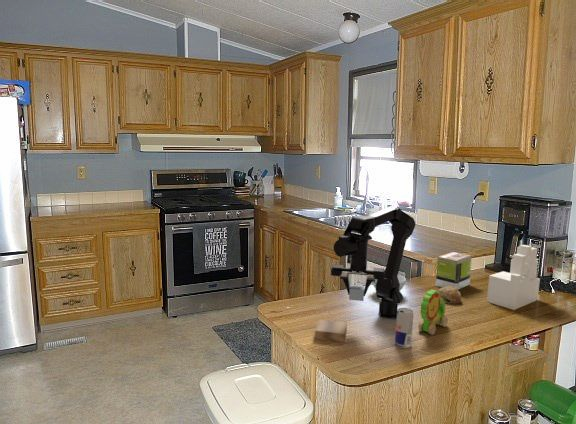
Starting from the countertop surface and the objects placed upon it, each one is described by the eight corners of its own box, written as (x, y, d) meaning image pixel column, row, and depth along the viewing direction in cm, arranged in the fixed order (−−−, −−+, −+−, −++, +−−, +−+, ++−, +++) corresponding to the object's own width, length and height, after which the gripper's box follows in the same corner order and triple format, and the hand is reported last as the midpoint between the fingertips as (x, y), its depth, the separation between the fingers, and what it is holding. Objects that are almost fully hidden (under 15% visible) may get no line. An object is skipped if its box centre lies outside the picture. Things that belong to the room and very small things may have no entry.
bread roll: (435, 308, 196) (435, 294, 192) (437, 292, 204) (438, 278, 200) (459, 312, 193) (460, 298, 188) (461, 295, 200) (462, 282, 196)
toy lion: (434, 321, 172) (437, 282, 170) (448, 325, 168) (451, 286, 166) (414, 333, 161) (417, 292, 158) (428, 338, 157) (432, 296, 154)
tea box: (450, 280, 226) (453, 251, 223) (470, 285, 218) (472, 255, 216) (434, 286, 215) (437, 255, 213) (454, 291, 208) (457, 260, 206)
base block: (346, 330, 161) (347, 322, 161) (344, 342, 151) (345, 333, 151) (318, 327, 163) (318, 319, 163) (314, 339, 153) (315, 330, 153)
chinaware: (392, 287, 211) (393, 271, 210) (411, 298, 197) (412, 281, 196) (363, 290, 205) (364, 274, 204) (381, 301, 192) (382, 284, 190)
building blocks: (513, 310, 187) (520, 250, 183) (486, 301, 196) (492, 245, 192) (537, 300, 200) (544, 244, 196) (510, 292, 209) (516, 239, 205)
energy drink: (392, 341, 153) (394, 307, 151) (407, 341, 154) (410, 307, 152) (397, 348, 148) (400, 313, 146) (413, 348, 149) (416, 313, 147)
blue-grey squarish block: (363, 296, 164) (364, 285, 164) (363, 301, 160) (364, 290, 159) (349, 295, 165) (350, 284, 165) (349, 299, 161) (349, 288, 160)
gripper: (385, 249, 166) (382, 290, 168) (334, 245, 169) (332, 286, 172) (386, 256, 155) (383, 300, 158) (331, 252, 159) (329, 295, 161)
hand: (356, 295), depth 162 cm, fingers closed on blue-grey squarish block, 5 cm apart
